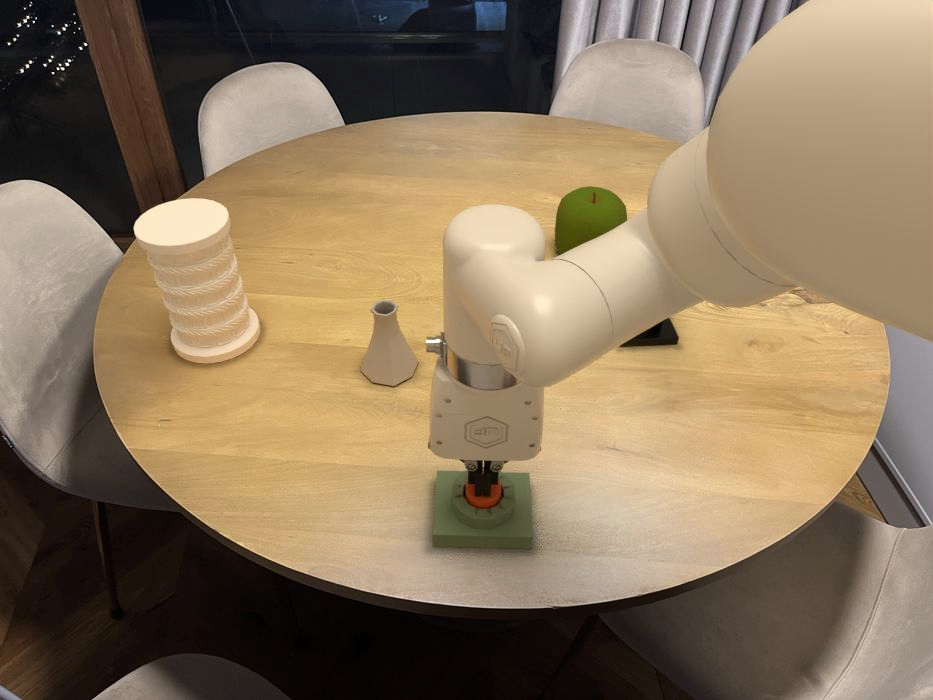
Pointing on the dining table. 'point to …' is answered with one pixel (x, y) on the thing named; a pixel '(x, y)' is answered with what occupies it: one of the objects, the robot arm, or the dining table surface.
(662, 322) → the switch bracket
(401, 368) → the flask
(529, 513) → the button block
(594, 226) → the apple
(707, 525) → the dining table surface
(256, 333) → the decorative container
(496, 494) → the stop button
